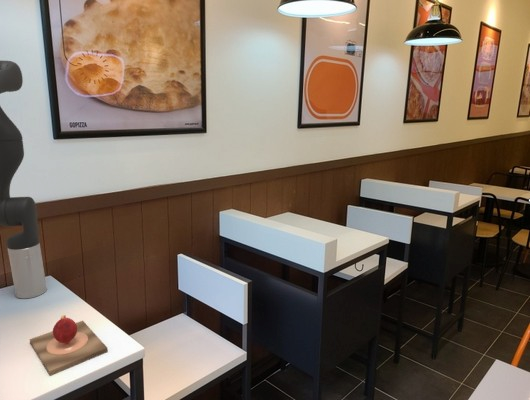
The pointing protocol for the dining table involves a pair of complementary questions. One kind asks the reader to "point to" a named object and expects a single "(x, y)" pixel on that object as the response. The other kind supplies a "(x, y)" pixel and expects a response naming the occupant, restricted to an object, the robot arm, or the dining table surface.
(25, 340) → the dining table surface
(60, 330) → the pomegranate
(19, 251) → the robot arm
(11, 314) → the dining table surface
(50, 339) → the serving board
